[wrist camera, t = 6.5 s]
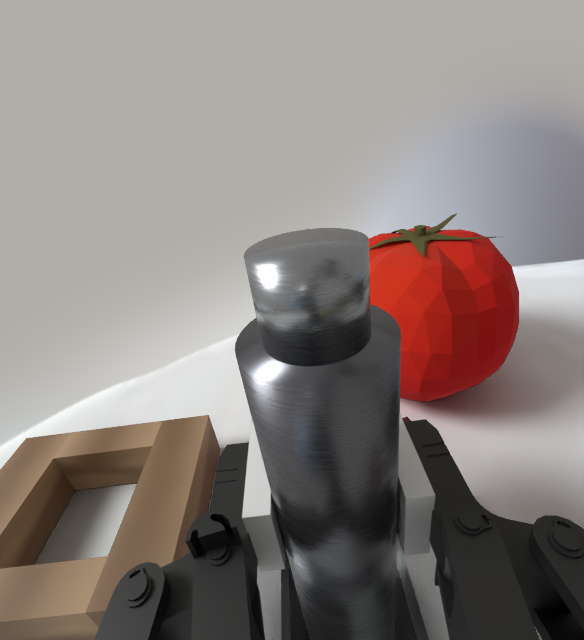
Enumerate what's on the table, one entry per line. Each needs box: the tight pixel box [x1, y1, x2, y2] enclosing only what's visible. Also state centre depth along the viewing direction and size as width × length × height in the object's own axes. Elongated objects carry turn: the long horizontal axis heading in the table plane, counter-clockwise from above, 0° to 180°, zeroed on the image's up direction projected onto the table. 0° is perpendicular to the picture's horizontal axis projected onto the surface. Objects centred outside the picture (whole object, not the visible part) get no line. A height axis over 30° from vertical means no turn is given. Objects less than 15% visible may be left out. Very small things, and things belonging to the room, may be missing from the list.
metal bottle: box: [235, 228, 401, 640], centre depth 10 cm, size 4×4×16 cm
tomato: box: [369, 214, 519, 401], centre depth 24 cm, size 12×13×12 cm
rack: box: [0, 415, 220, 640], centre depth 18 cm, size 12×10×3 cm
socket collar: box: [257, 534, 449, 640], centre depth 14 cm, size 10×10×2 cm
